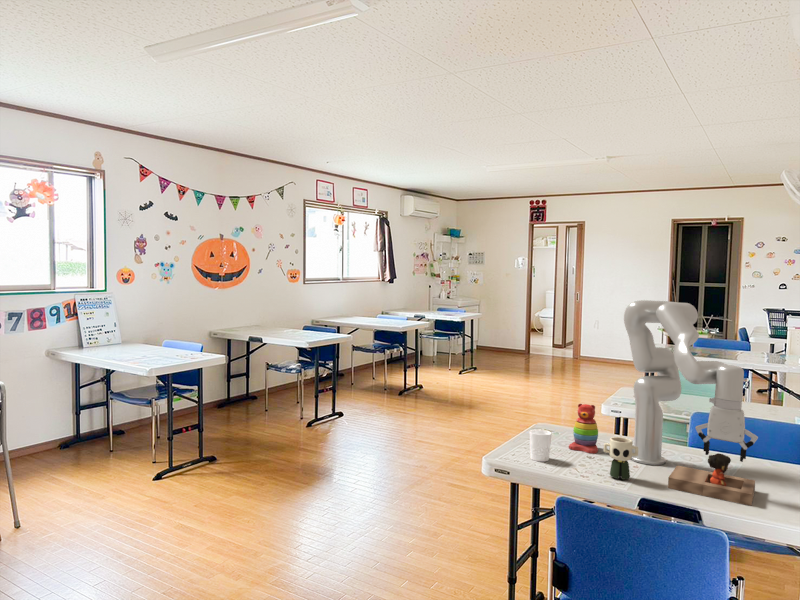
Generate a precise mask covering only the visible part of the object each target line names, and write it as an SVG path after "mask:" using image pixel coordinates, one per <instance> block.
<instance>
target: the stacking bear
mask: <svg viewBox="0 0 800 600" xmlns="http://www.w3.org/2000/svg"><path fill="white" fill-rule="evenodd" d="M577 415H578V417H577V418H576V421H575V422H574V426H573V433H572V434H573V439H574V441H573V442H571V443H569V445H568V449H569V450H572V451H578V452H583V453H584V452H585V453H587V454H590V455H591V454H593V455H595V454H597V453H598V451H599V449H598V448H599V447H598V446H597V442H598V439H599V438H598V437H599V429H598V424H597V421H596V420H595V416H596V406H595V405H594V404H585V403H584V404H583V403H578V405H577Z"/></svg>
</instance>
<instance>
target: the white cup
mask: <svg viewBox="0 0 800 600" xmlns="http://www.w3.org/2000/svg"><path fill="white" fill-rule="evenodd" d="M551 445H552V432H551V431H549V430H546V429H530V430H529V453H530V454H529V456H530V457H529V458H530V459H531V460H532V461H536V462H548V461H549V460H550V451H551Z"/></svg>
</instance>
